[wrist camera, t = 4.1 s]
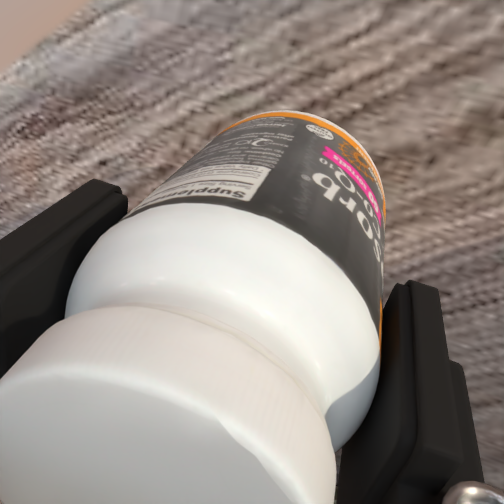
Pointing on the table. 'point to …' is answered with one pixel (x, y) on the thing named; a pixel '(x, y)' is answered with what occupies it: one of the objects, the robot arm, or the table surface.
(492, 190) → the table surface
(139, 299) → the pill bottle
